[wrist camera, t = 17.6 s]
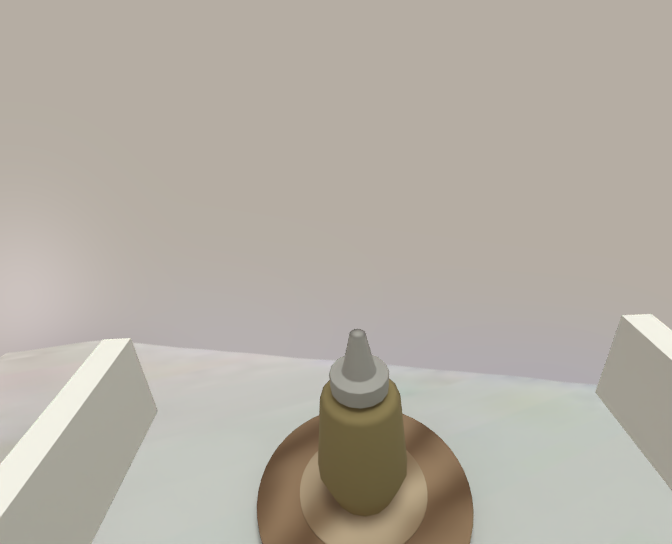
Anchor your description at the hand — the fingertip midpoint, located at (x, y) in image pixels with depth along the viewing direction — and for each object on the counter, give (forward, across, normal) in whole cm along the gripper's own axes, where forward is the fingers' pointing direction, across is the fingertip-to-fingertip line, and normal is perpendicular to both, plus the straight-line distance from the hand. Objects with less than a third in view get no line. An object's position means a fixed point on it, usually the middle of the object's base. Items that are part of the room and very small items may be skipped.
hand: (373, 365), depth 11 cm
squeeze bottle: (+15, 0, -28) cm, 32 cm away
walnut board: (+15, 0, -30) cm, 34 cm away
